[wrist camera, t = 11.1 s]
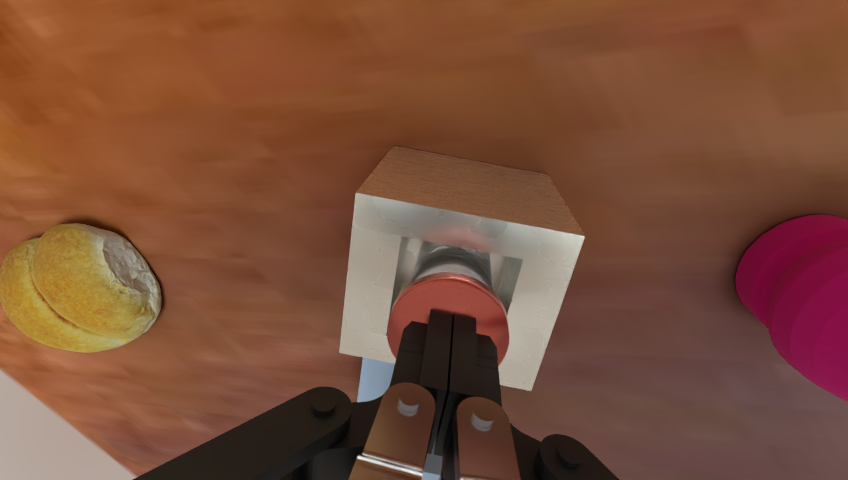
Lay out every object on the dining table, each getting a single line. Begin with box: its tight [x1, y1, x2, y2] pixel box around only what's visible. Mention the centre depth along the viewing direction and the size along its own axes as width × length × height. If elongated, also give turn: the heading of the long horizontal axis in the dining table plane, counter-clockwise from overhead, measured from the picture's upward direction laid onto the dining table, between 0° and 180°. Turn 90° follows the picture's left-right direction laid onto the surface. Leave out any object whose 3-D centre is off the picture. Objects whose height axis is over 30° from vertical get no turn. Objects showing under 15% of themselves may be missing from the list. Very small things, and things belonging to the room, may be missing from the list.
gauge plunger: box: [387, 241, 509, 366], centre depth 17 cm, size 4×4×6 cm
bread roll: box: [0, 223, 162, 352], centre depth 26 cm, size 8×9×4 cm
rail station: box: [339, 146, 585, 391], centre depth 25 cm, size 8×30×8 cm, turn 171°
